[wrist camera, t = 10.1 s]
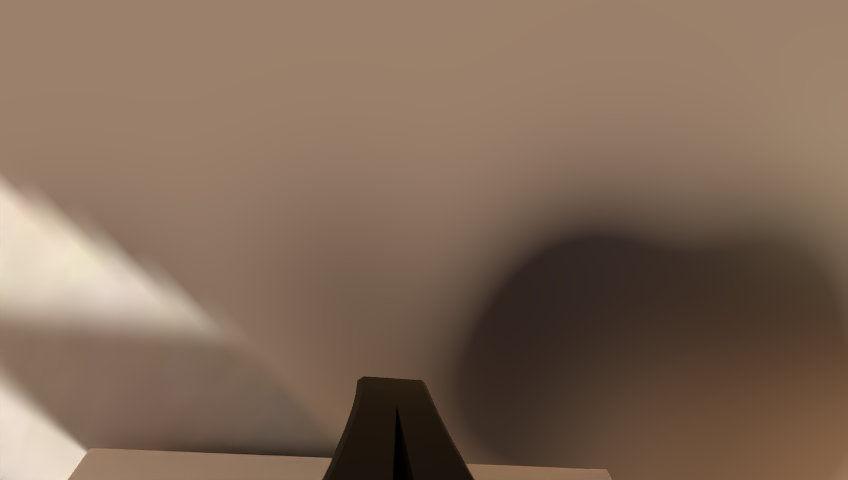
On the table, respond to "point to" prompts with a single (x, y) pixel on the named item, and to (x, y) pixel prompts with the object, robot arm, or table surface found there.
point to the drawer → (267, 467)
